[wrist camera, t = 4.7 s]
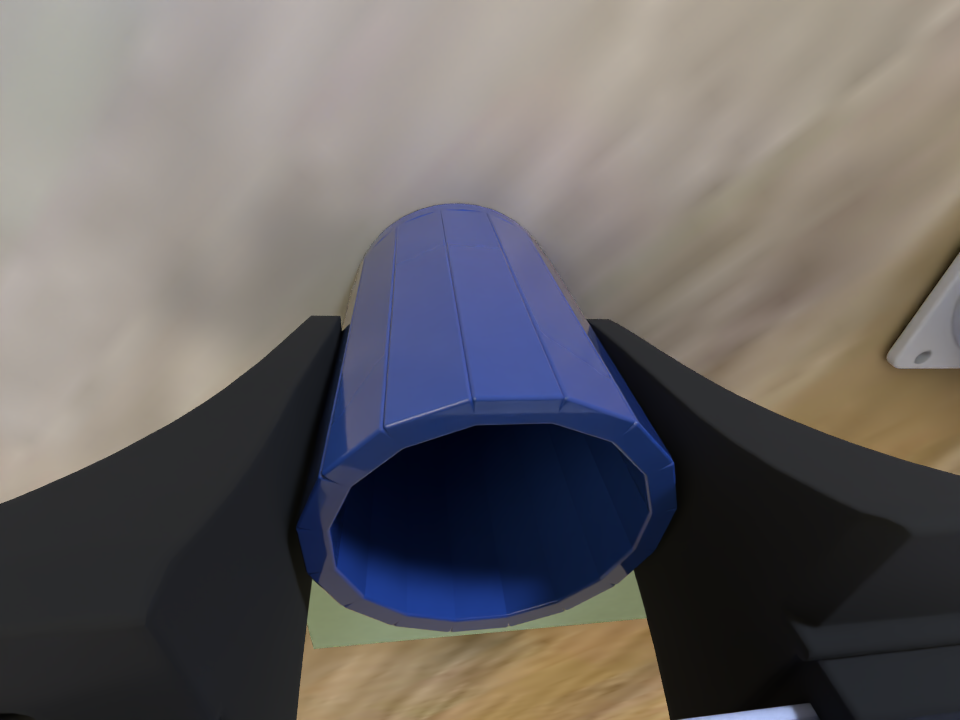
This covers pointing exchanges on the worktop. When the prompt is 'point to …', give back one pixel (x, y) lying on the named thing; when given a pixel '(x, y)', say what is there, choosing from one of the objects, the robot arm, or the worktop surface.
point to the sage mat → (352, 628)
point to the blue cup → (475, 438)
